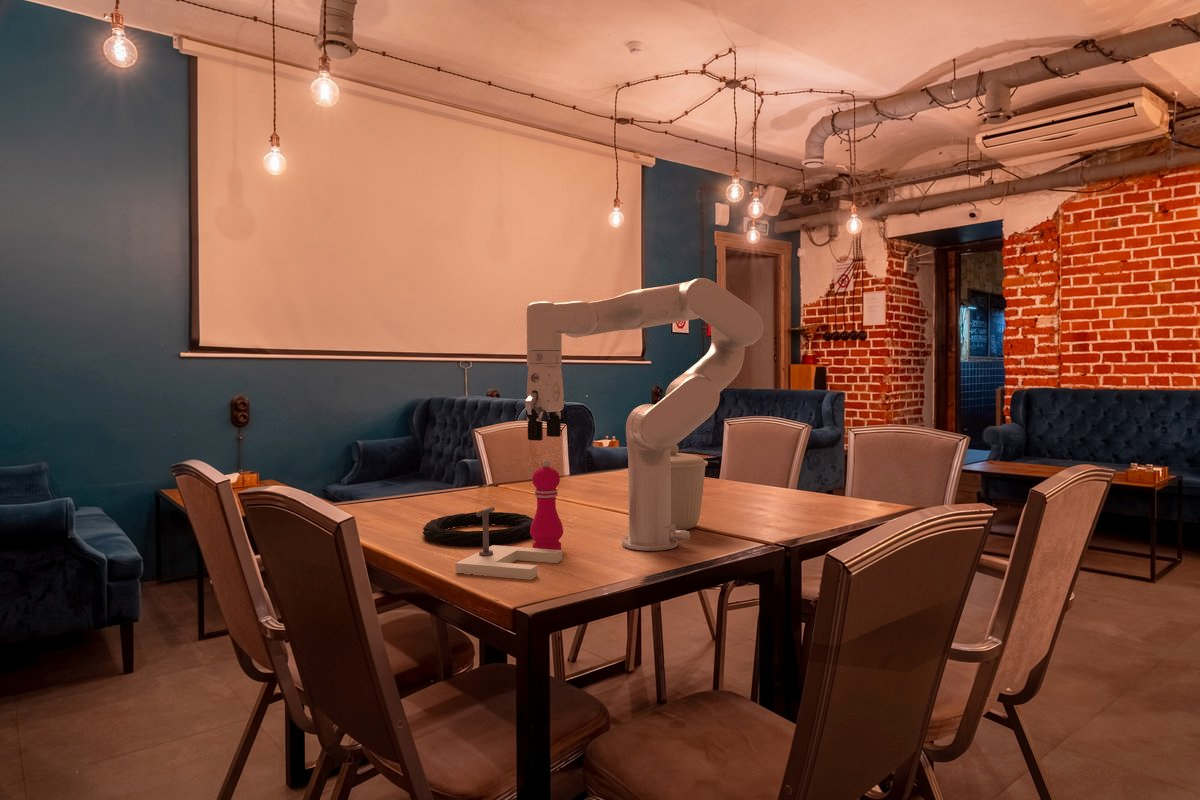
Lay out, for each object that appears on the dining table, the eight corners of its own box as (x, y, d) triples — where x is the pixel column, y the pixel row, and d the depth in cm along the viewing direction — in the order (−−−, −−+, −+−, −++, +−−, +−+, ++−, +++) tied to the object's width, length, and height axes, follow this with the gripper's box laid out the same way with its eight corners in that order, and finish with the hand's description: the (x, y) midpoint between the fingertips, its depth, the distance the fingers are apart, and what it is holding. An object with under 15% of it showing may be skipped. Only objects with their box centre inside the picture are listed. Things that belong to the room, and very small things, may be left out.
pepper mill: (527, 549, 168) (526, 458, 167) (558, 546, 170) (557, 457, 170) (534, 556, 161) (533, 462, 161) (567, 553, 163) (566, 461, 163)
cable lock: (437, 510, 198) (552, 509, 197) (437, 525, 198) (552, 524, 198) (408, 532, 170) (542, 531, 170) (408, 549, 170) (542, 548, 170)
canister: (674, 517, 203) (673, 438, 202) (723, 528, 189) (723, 443, 188) (621, 526, 192) (620, 442, 192) (669, 538, 178) (668, 448, 177)
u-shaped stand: (562, 559, 158) (561, 505, 158) (530, 579, 143) (530, 520, 143) (493, 554, 163) (492, 502, 163) (455, 573, 148) (454, 515, 148)
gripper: (543, 358, 155) (544, 442, 156) (575, 360, 172) (575, 435, 172) (510, 359, 158) (511, 441, 159) (544, 360, 174) (545, 434, 175)
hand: (544, 438), depth 165 cm, fingers open, 9 cm apart
